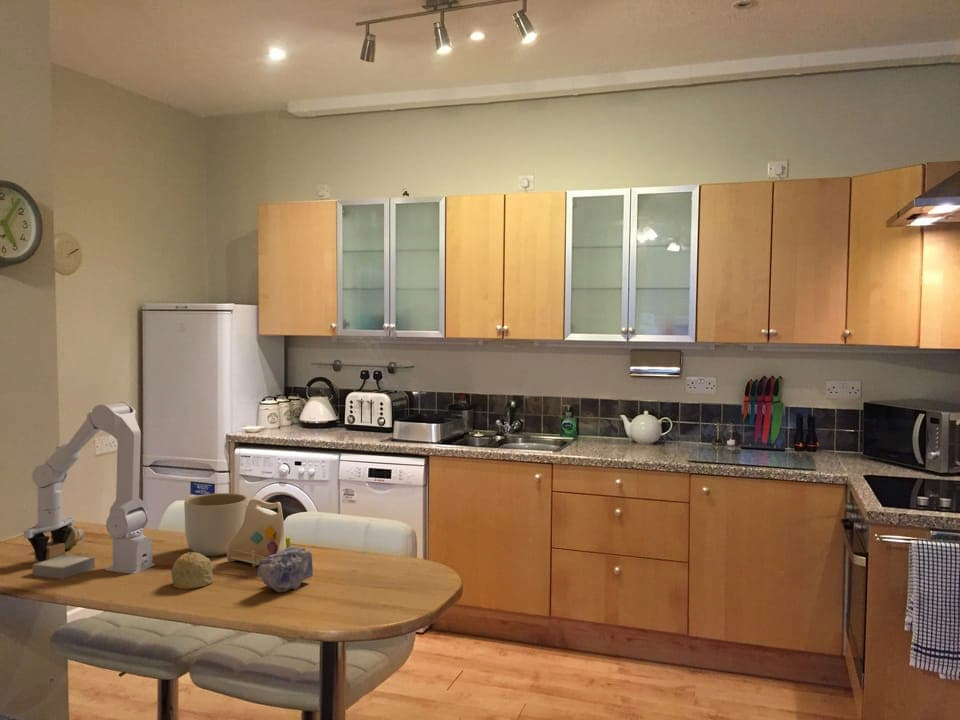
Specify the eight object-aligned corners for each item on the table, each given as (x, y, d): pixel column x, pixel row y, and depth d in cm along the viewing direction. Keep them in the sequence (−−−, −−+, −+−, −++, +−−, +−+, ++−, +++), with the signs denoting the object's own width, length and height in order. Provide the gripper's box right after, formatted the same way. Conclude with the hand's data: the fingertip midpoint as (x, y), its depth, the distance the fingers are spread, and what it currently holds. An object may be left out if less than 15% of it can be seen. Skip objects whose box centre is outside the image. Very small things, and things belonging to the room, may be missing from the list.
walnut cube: (64, 561, 204) (64, 543, 204) (49, 566, 200) (49, 548, 199) (50, 559, 206) (50, 541, 206) (34, 565, 201) (34, 546, 201)
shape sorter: (306, 566, 203) (306, 501, 202) (276, 576, 194) (277, 508, 194) (255, 554, 213) (255, 492, 213) (225, 563, 204) (225, 499, 204)
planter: (210, 564, 203) (210, 508, 203) (171, 553, 213) (171, 500, 212) (259, 549, 218) (259, 497, 217) (221, 540, 227) (221, 490, 226)
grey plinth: (94, 568, 198) (94, 557, 198) (63, 580, 189) (63, 568, 189) (64, 565, 201) (64, 554, 201) (32, 576, 192) (32, 564, 192)
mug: (91, 539, 224) (90, 517, 218) (70, 564, 216) (68, 541, 210) (68, 531, 224) (66, 508, 219) (46, 555, 216) (44, 532, 210)
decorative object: (186, 592, 190) (160, 565, 187) (219, 566, 193) (195, 538, 189) (188, 607, 181) (161, 578, 178) (223, 579, 184) (197, 550, 181)
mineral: (284, 580, 191) (284, 541, 191) (315, 585, 187) (315, 545, 187) (246, 598, 178) (246, 556, 177) (278, 604, 174) (278, 561, 174)
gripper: (60, 501, 210) (60, 549, 211) (14, 512, 196) (14, 564, 197) (80, 503, 208) (80, 551, 209) (35, 515, 194) (35, 566, 195)
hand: (50, 557), depth 203 cm, fingers closed on walnut cube, 5 cm apart
